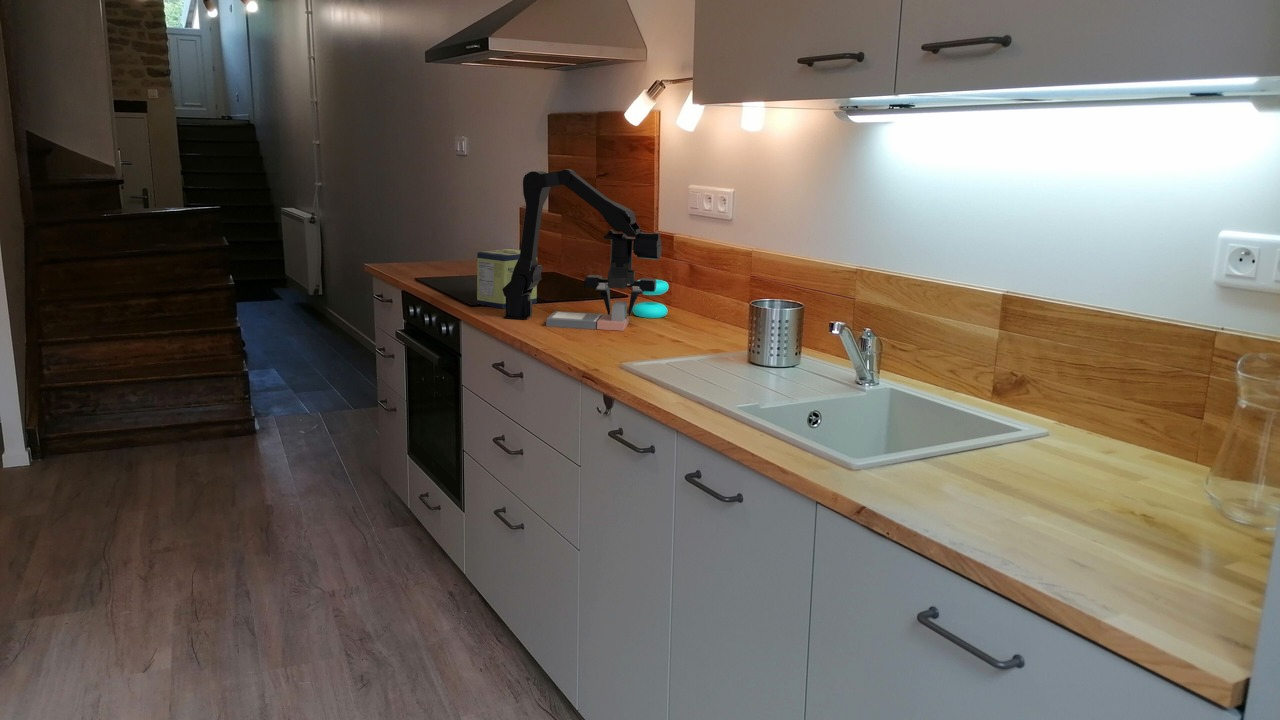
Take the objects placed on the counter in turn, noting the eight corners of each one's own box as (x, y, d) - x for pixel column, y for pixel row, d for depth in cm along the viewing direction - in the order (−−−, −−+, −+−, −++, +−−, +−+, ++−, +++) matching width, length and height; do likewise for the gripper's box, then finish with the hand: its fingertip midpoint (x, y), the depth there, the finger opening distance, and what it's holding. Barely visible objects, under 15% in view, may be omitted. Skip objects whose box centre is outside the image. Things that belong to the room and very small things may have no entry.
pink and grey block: (596, 329, 244) (597, 306, 243) (603, 320, 256) (604, 299, 255) (623, 330, 244) (624, 308, 242) (628, 322, 255) (629, 300, 254)
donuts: (664, 284, 259) (629, 281, 262) (662, 320, 261) (628, 317, 264) (672, 280, 269) (639, 277, 271) (671, 314, 271) (637, 311, 273)
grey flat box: (546, 326, 246) (546, 318, 245) (555, 318, 257) (555, 310, 257) (595, 329, 244) (596, 321, 244) (602, 321, 256) (602, 313, 255)
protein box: (537, 303, 280) (538, 251, 277) (503, 309, 267) (503, 255, 264) (510, 298, 286) (511, 248, 282) (475, 305, 273) (476, 251, 269)
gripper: (581, 258, 238) (579, 318, 242) (653, 262, 237) (651, 323, 240) (588, 253, 249) (586, 311, 253) (657, 257, 248) (655, 315, 251)
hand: (619, 315), depth 249 cm, fingers open, 5 cm apart
